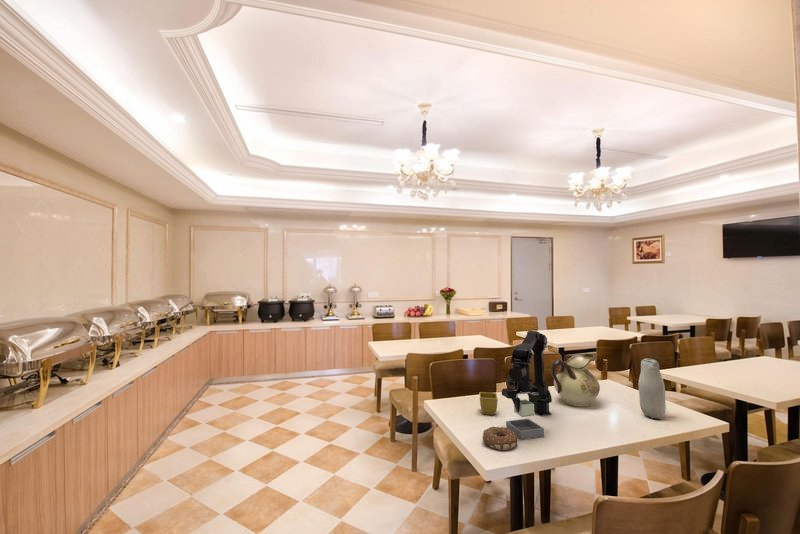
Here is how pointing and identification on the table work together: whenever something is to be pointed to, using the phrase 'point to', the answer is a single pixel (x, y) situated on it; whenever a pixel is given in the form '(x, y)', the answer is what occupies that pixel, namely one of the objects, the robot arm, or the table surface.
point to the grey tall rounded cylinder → (651, 389)
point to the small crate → (525, 408)
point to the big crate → (525, 429)
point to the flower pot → (488, 402)
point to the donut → (500, 438)
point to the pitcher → (575, 381)
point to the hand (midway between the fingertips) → (524, 411)
